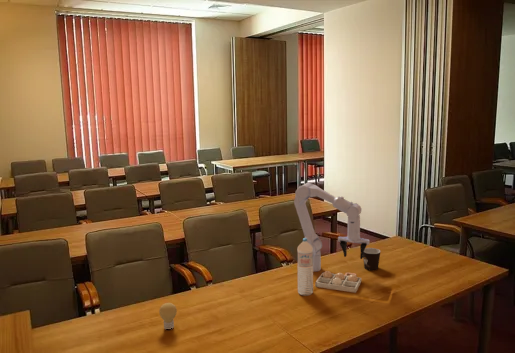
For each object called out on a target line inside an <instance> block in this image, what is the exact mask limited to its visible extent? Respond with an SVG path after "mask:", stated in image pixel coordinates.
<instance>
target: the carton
mask: <svg viewBox="0 0 515 353" xmlns="http://www.w3.org/2000/svg"><path fill="white" fill-rule="evenodd" d="M336 277H337V278H340V279H341V281H342V284H341V286H340V285H333V284H332V280H333V279H334V278H336ZM361 282H362V277H358V276H357V274H356V275H353V274H352V275H347V276H345V274H344V273H342V272H337V273H332V272H331V271H329V270H326V271H324V272H322V273H321V274H320V275H319V277H318V278H317V279H316V281H315V286H314V287H316V288H322V289H323V288H324V289H328V290H334V291H335V290H337V291H341V292H343V291H344V292H348V293H354V294H356V293H357V291H358V290H359V287H360V285H361V284H362V283H361Z"/></svg>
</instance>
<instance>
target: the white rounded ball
mask: <svg viewBox="0 0 515 353" xmlns="http://www.w3.org/2000/svg"><path fill="white" fill-rule="evenodd" d="M332 284H333V285H340V286H342V285H341V284H342V281H341V279H340V278H337V277H336V278H334V279H333V280H332Z"/></svg>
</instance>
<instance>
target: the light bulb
mask: <svg viewBox="0 0 515 353" xmlns="http://www.w3.org/2000/svg"><path fill="white" fill-rule="evenodd" d="M177 311H178V310H177V307H176V305H175V304H173V303H172V302H166V303H163V304H162V305H161V306H160V307H159V311H158V312H159V315H160V316H159V317H160V318H161V319H162V320H163V329H164V330H166V329H171V328H172V329H174V327H175V324H174V319H175V317H176V315H177ZM172 329H171V330H172Z"/></svg>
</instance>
